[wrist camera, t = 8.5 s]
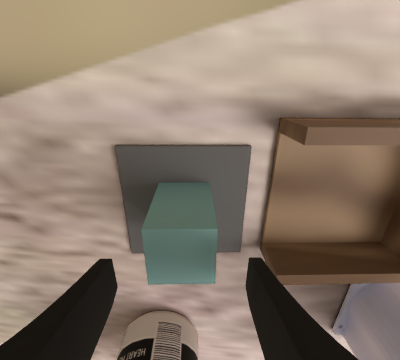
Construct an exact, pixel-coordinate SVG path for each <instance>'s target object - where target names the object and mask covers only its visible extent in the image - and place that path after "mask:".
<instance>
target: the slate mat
mask: <svg viewBox="0 0 400 360" xmlns="http://www.w3.org/2000/svg"><path fill="white" fill-rule="evenodd" d="M115 150H116V157H117V163H118V169H119V176H120V182H121V188H122V195H123V201H124V208H125V214H126V220H127V227H128V233H129V239H130V246H131V252H132V253H144V246H143V239H142V231H141V229H142V227H143V224H144V221H145V219H146V216H147V213H148V211H149V208H150V205H151V203H152V200H153V197H154V195H155V192H156V190H157V187H158V184H159V183H192V182H210V186H211V192H212V198H213V204H214V210H215V216H216V222H217V228H218V231H217V252H240V248H241V239H242V230H243V220H244V211H245V202H246V192H247V183H248V174H249V164H250V155H251V146H250V145H116V146H115Z"/></svg>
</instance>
